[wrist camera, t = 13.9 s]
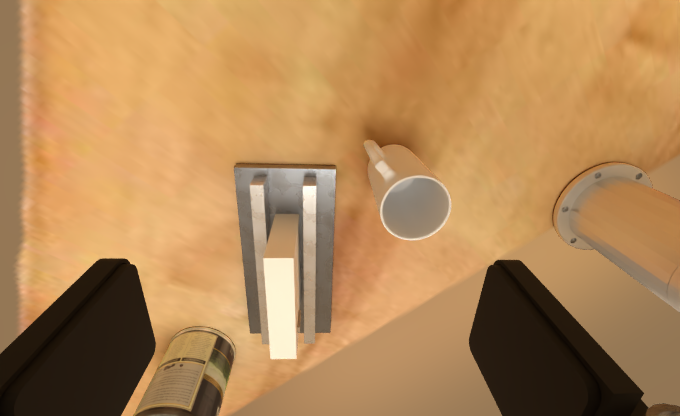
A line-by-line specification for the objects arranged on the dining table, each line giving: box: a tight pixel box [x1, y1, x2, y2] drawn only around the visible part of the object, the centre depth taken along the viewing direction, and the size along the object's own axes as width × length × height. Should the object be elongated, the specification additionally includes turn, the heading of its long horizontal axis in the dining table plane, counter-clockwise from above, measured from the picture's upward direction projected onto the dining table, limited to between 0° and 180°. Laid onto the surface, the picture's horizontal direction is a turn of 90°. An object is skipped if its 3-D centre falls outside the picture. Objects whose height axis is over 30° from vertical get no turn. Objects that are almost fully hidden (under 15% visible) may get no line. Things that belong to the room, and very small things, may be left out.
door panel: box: [263, 214, 301, 359], centre depth 42 cm, size 3×14×10 cm, turn 178°
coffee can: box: [133, 327, 236, 416], centre depth 48 cm, size 10×10×14 cm
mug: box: [363, 140, 451, 240], centre depth 37 cm, size 10×7×12 cm, turn 40°
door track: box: [234, 164, 336, 344], centre depth 46 cm, size 12×26×4 cm, turn 178°
